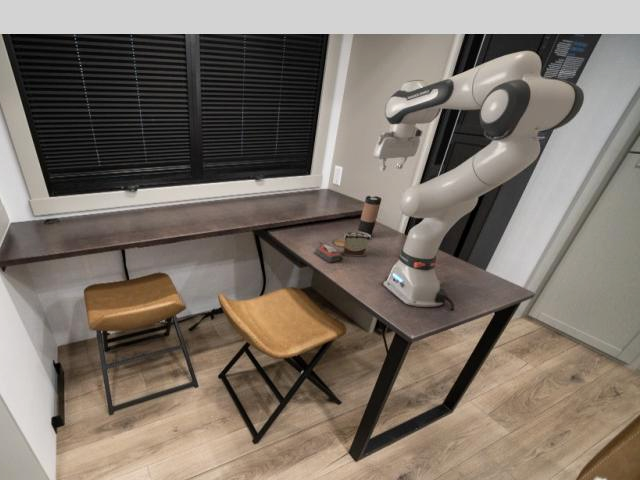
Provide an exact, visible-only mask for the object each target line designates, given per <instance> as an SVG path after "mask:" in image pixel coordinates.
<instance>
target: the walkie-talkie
mask: <svg viewBox="0 0 640 480" xmlns="http://www.w3.org/2000/svg"><path fill="white" fill-rule="evenodd" d="M318 244H319V245H321V246H317V247H316V249H315V254H316V255H318V256H319V257H321V258H322V259H324V260H325V261H326V262H328V263H335V262H340V261H343V260H344V257H342V254H341V253H339V252H338V251H337V249H336V248H334V247H333V246H331V245H328V244H325V243H323V242H322V241H318Z"/></svg>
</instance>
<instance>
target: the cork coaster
mask: <svg viewBox="0 0 640 480" xmlns="http://www.w3.org/2000/svg"><path fill="white" fill-rule="evenodd" d="M333 243H334V245H336V246H338V247H341V248H344V243H345V238H337V239H334V241H333Z"/></svg>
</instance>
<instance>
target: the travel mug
mask: <svg viewBox="0 0 640 480" xmlns="http://www.w3.org/2000/svg"><path fill="white" fill-rule="evenodd" d="M381 203H382V197H380V196H376V195H374V196H371V195H367V196H366V197H365V200H364V204H363V207H362V212H361V214H360V215H361V216H360V220H359V225H358V229H357V231H360V232H364V233H367V234H369V235H371V236H372V235H373V231H374V229H375V226H376V222H377V218H378V215H379V210H380V207H381Z"/></svg>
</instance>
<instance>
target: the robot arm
mask: <svg viewBox="0 0 640 480" xmlns="http://www.w3.org/2000/svg"><path fill="white" fill-rule="evenodd" d="M541 72H542V60H541V57H540V56H539V55H538V54H537V53H536V52H535V51H532V50H523V51H522V50H521V51H517V52H512V53H509V54H505V55H502V56H499V57H496V58H494V59H491V60H489V61H486V62H484V63H481V64H480V65H477V66H475V67H473V68H470V69H467V70H466V71H464V72H461V73H458V74H456V75H453V76H450V77H448V78H445V79H443V80H440V81H437V82H434V83H431V84H428V85H427V82H426V80H424V79H414V80H413V79H412V80H408V81H406V82H404V83H403V84H402V85H401V88H400V89H399V90H397V91H396V92H394V93H393V94H392V95H391V96H390V98H388V100H387V102H386V104H385V106H384V117H385V119H386V121H387V122H388V123H389V124H390V125H389V129H388V131H384V132H383V133H382V134H380V135H379V137H378V140H377V142H376V145H375V147H374V150H373V154H372V157H373V158H374V159H378V162H379V171H385V170H386V168H387V165H386V161H387V159H398V158H399V159H400V161H399V162H398V163H397V164H396V166H395V167H396V169H399V170H400V169H403V167H404V164H405V163H406V162H407V160H408V158H411V157H415V156H416V154H417V153H418V149H419V146H420V142H421V137H422V136H423V133H424V132H423V130H422V129H420V128H419V127H417V126H416V125H419V124H422V125H423V124H429V123H432V122H433V121H434V120H435V119H436V118H437V117H438V116H439V114H440V113H441V110H442V109H447V110H458V111H460V110H461V111H475V110H479V122H480V126H481V129H482V130H483V136H484V137H485V138H486V139H488V140H490V143H489V144H487V145H486V146H485V147H484V148H481V150H479V151H477V152H476V153H475V154H474V155H472V156H471V157H469V158H468V159H466V160H465V161H464V162H462V163H461V164H459V165H457V167H454V168H453V169H450V170H449V171H447V172H445V173H442V174H440V175H438V176H436V177H434V178H431V179H429V180H427V181H425V182H422V183H419V184H417V185H413V186H410V187H408V188H407V189H405V190H404V192H403V193H402V195H401V196H400V200H399V208H400V211H401V213H402V215H404V216H405V217H410V218H415V219H422V220H421V221H420V222H419V223H418V224H415V225H414V226H413V227H411V228H410V229H409V231H408V233H407V235H406V238H405V242H404V245H403V248H401V250H400V251H399V255H398V260H397V262H396V263H395V264H394V265H393V267H392V268H391V271H390V272H389V276H388V277H387V280H385V281H383V286H384V287H386V289H388V290H389V291H390V292H391V293H392V294H394V295H395V296H396V297H397V298H398V299H399V300H401V301H402V302H403V303H404V304H406V305H409V306H412V307H419V308H435V307H440V306H442V305H443V304H444V303H445V302H446V301H447V302H448V303H449V305H450V311H455V305H454V302H453V300H452V298H450V297H448V294H447V292H446V290H445V289H443V288H441V286H440V285H441V284H442V283H441V282H442V281H441V280H440V279H438V276H437V273H436V271H435V267H437V265H438V262H437V253H438V251H439V249H440V247H441V244H442V242H443V239H444V238H445V236H446V235H447V233H448V232H449V231H450V230H451V228H453V226H454V225H455V224H456V223H457V222H458V221H459V220H460V219H462V218H463V217H465V216H466V215H468V214H470V213H471V212H472V211H473V210H474V209H475V207H476V206H477V204H478V202H479V198H480V197H481V196H484V195H485V194H486V193H488V192H490V191H492V190H494V189H495V188H498V187H499V186H501V185H503V184H505V183H506V182H508V181H509V180H511V179H512V178H514V177H515V176H517V175H518V174H520V173H521V172H522V171H524V170H525V169H527V168H528V167H529V166H530V165H531V164H532V163H534V162H535V161H536V160H537V159H538V157H539V155H540V153H541V143H540V140H539V138H538V134H539V133H546V132H550V131H555V130H558V129H560V128H562V127H564V126H566V125H567V124H569V123H570V122H572V120H573V119H574V118H575V117H576V116H578V114H579V112H580V111H581V109H582V107H583V104H584V101H585V94H584V90H583V89H582V88H581V87H580V86H579V85H577V84H575V83H574V82H571V81H569V80H566V79H563V78H559V77H557V76H552V77H549V78H545V77H542V75H541Z"/></svg>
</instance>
